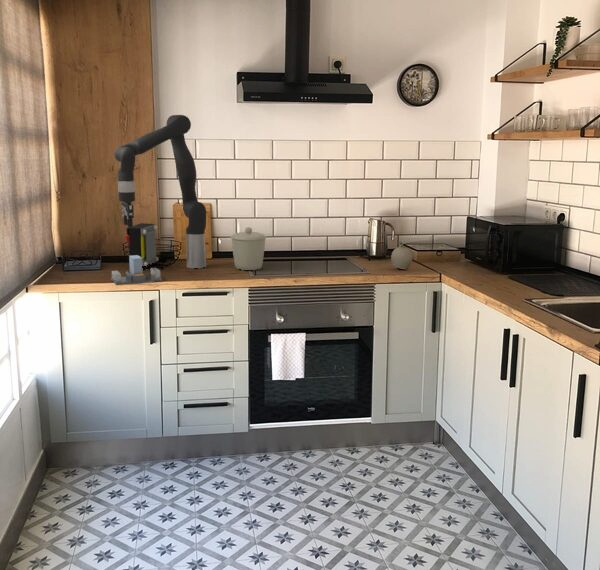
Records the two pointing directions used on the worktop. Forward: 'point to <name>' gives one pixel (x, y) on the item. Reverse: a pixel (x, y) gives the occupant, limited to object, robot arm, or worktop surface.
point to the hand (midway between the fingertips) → (128, 226)
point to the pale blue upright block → (135, 265)
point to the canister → (248, 249)
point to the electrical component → (143, 242)
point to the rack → (135, 277)
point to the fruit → (401, 257)
